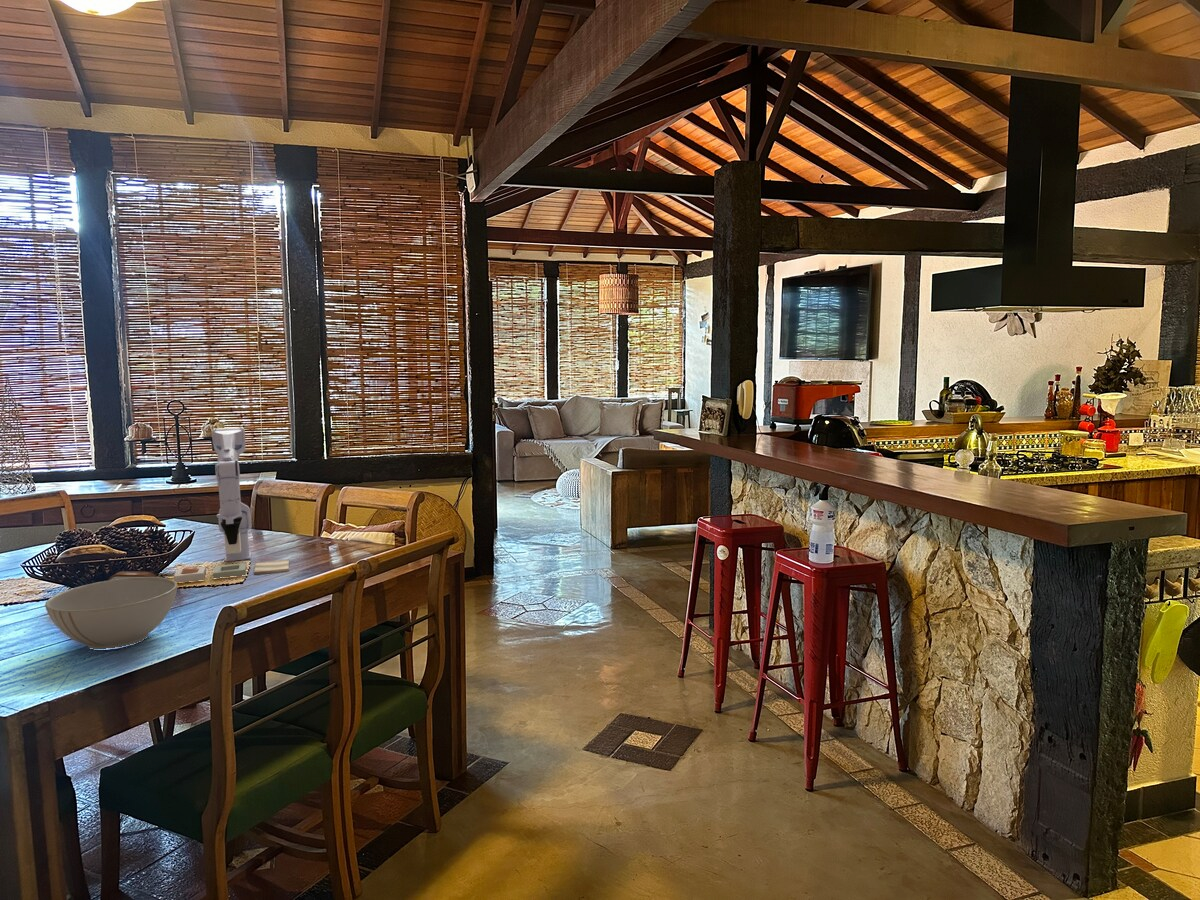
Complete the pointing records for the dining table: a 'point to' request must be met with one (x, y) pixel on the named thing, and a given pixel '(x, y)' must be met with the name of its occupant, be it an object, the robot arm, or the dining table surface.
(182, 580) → the plunger housing
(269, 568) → the birch board
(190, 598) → the dining table surface
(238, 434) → the robot arm
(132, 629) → the decorative bowl
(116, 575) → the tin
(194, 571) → the plunger button
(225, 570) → the socket
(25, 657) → the dining table surface
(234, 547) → the cartridge
